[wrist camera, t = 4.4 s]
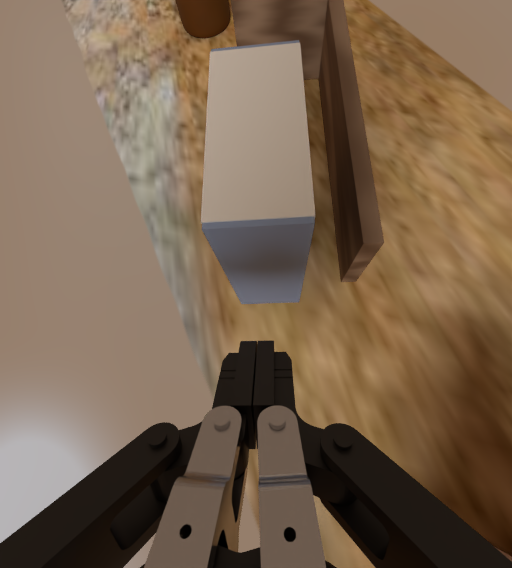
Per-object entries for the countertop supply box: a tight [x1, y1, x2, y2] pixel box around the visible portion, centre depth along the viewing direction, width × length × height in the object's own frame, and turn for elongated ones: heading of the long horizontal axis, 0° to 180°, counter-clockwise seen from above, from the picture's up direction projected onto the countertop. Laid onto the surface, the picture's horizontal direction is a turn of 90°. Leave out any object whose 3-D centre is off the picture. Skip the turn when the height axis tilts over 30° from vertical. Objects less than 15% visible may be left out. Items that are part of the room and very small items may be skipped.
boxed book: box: [201, 40, 315, 304], centre depth 25 cm, size 6×14×16 cm, turn 1°
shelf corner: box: [231, 0, 384, 282], centre depth 30 cm, size 12×32×12 cm, turn 1°
